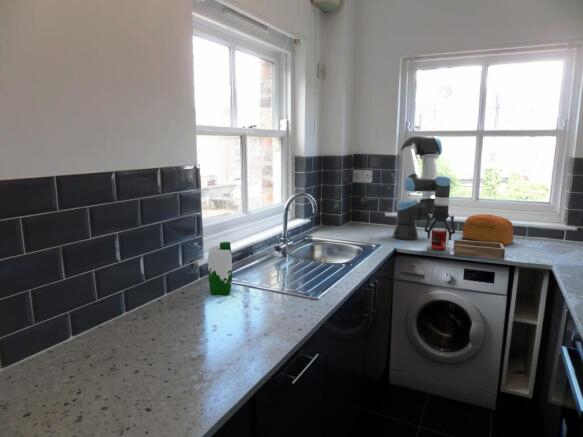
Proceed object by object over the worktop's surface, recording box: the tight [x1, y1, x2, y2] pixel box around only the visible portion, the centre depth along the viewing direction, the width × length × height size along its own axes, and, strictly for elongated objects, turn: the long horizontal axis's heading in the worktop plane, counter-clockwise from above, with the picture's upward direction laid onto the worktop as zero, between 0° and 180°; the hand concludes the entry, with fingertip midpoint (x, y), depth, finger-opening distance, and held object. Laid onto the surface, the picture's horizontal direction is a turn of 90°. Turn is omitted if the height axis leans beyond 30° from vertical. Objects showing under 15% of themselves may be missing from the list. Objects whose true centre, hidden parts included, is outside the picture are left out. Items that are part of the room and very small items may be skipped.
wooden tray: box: [453, 239, 506, 259], centre depth 221 cm, size 13×24×5 cm, turn 69°
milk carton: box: [207, 241, 233, 296], centre depth 161 cm, size 9×9×20 cm
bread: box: [462, 213, 514, 246], centre depth 250 cm, size 16×27×16 cm, turn 42°
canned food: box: [430, 227, 448, 250], centre depth 228 cm, size 8×8×11 cm
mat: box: [426, 244, 451, 255], centre depth 228 cm, size 14×12×1 cm
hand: (438, 245), depth 228 cm, fingers open, 8 cm apart
